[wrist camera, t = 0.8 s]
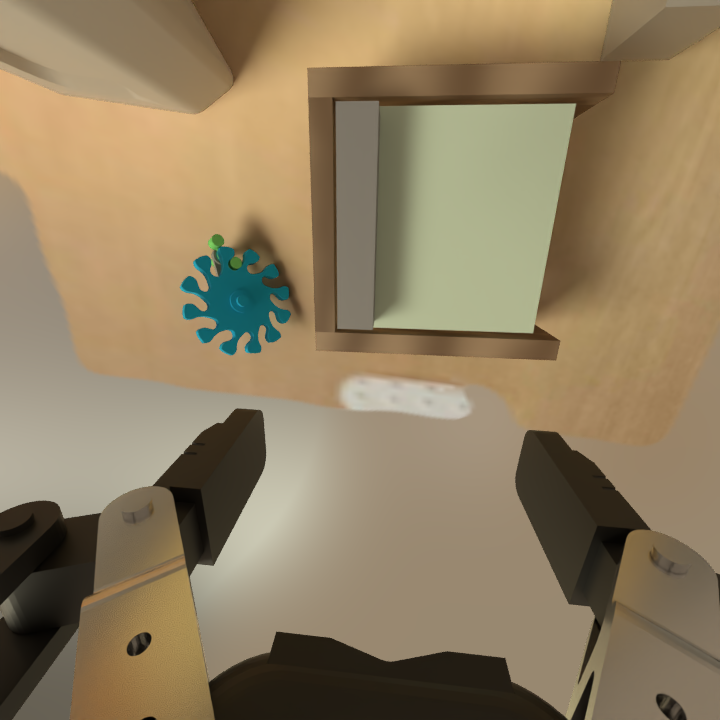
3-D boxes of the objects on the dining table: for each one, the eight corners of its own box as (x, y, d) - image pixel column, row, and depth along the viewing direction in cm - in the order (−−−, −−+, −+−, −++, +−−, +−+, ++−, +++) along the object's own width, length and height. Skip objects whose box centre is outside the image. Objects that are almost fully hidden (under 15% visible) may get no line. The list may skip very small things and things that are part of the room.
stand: (334, 321, 36) (315, 350, 27) (332, 117, 30) (307, 67, 21) (514, 328, 35) (556, 360, 26) (550, 114, 29) (621, 60, 20)
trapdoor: (342, 323, 27) (336, 335, 24) (342, 111, 23) (333, 90, 19) (528, 329, 26) (547, 343, 23) (568, 109, 22) (600, 85, 18)
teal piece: (304, 340, 35) (203, 369, 30) (280, 342, 40) (188, 367, 35) (276, 228, 34) (161, 236, 28) (254, 243, 38) (152, 253, 33)
